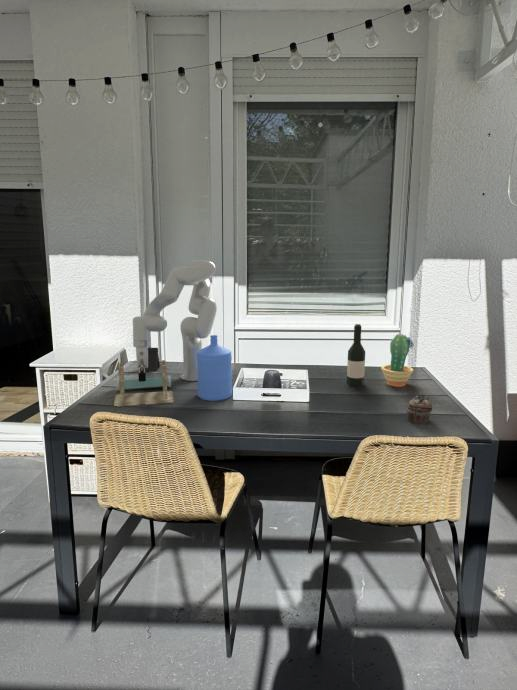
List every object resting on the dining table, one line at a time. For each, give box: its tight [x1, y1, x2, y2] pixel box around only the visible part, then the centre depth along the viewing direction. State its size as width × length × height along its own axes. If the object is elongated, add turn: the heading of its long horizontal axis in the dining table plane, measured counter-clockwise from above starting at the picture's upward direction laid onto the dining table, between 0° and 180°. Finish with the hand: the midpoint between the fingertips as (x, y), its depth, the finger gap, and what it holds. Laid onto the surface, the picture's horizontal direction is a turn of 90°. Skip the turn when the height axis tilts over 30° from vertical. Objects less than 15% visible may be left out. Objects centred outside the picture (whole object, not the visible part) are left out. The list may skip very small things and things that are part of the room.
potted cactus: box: [380, 333, 414, 388], centre depth 239 cm, size 15×15×25 cm
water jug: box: [197, 334, 233, 402], centre depth 221 cm, size 16×16×28 cm
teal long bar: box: [115, 374, 172, 392], centre depth 233 cm, size 25×6×6 cm, turn 103°
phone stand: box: [145, 347, 161, 372], centre depth 267 cm, size 9×6×12 cm, turn 178°
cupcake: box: [405, 394, 433, 424], centre depth 194 cm, size 10×10×10 cm
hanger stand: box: [113, 359, 174, 407], centre depth 216 cm, size 25×12×16 cm, turn 103°
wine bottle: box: [346, 323, 366, 388], centre depth 238 cm, size 8×8×30 cm
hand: (142, 378), depth 231 cm, fingers open, 9 cm apart
